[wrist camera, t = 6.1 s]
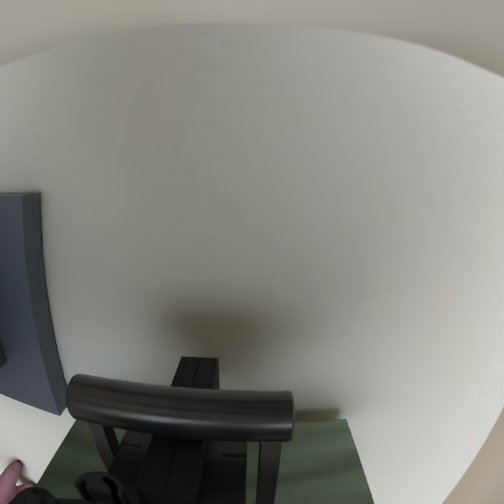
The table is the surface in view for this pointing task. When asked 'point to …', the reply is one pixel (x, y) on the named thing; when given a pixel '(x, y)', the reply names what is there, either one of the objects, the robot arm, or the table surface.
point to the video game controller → (11, 483)
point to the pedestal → (26, 310)
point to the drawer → (212, 438)
